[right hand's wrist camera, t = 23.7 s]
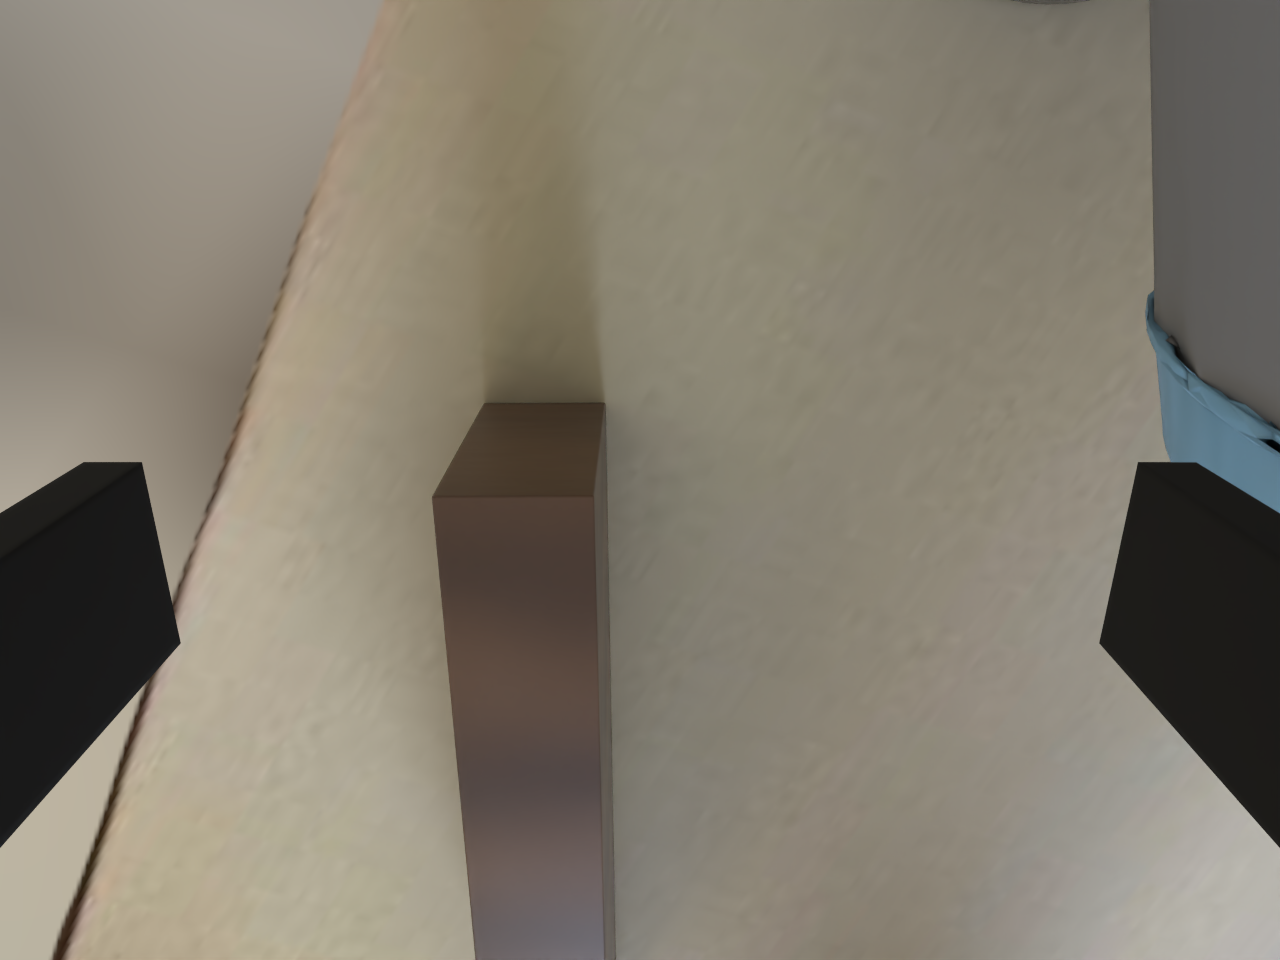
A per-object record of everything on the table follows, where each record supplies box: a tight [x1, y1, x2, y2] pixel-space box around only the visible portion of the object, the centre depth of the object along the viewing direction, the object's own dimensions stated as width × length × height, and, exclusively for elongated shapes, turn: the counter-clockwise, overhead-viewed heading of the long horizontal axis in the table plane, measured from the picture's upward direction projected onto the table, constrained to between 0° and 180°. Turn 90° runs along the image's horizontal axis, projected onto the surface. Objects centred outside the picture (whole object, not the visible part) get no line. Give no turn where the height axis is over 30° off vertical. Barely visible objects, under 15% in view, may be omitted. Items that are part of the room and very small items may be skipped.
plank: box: [432, 403, 616, 960], centre depth 39 cm, size 34×5×10 cm, turn 0°
